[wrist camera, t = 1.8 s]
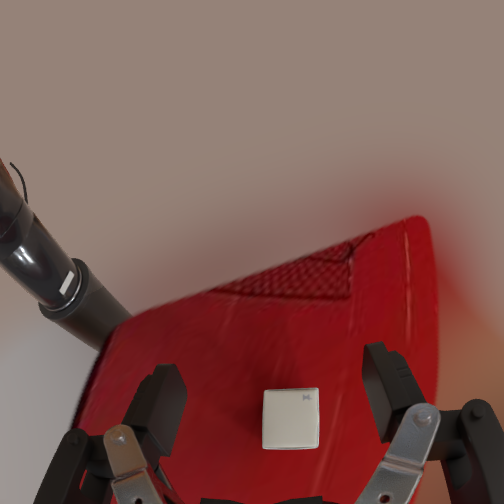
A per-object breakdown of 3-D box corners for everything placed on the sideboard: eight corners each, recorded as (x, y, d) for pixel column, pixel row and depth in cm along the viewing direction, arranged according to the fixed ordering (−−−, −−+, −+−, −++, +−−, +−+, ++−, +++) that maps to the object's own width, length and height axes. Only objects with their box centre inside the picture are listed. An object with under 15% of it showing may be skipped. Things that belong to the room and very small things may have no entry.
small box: (266, 399, 26) (262, 387, 20) (308, 398, 26) (318, 386, 20) (265, 444, 23) (260, 449, 17) (308, 443, 23) (319, 448, 17)
